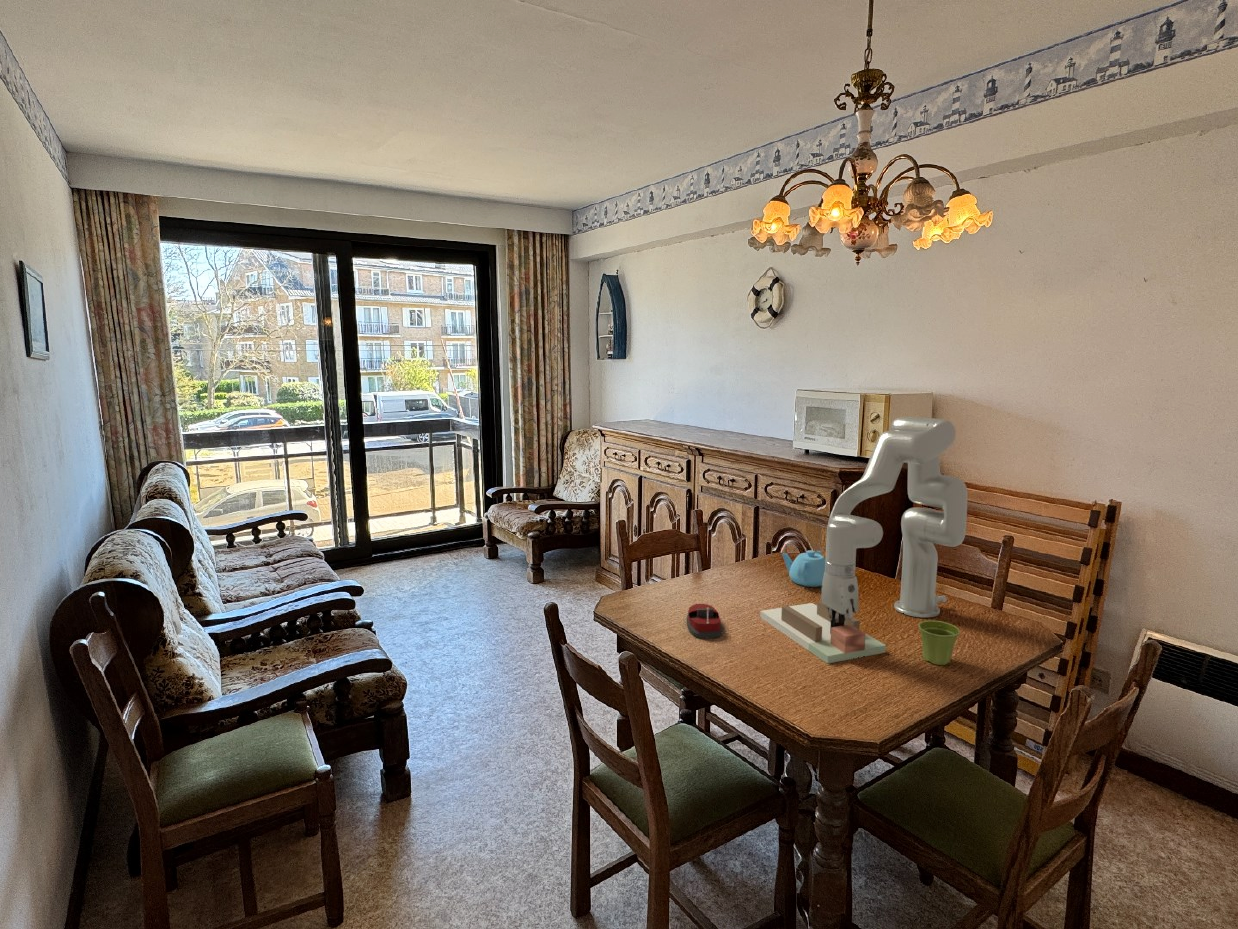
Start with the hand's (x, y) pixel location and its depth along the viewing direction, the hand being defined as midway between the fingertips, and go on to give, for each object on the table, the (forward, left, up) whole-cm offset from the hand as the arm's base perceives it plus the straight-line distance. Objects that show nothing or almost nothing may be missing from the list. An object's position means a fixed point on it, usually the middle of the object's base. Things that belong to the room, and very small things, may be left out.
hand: (836, 634), depth 176 cm
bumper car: (+28, -23, -4) cm, 36 cm away
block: (+1, +5, -1) cm, 5 cm away
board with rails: (0, -8, -3) cm, 8 cm away
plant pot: (-18, +16, -3) cm, 24 cm away
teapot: (-24, -46, -3) cm, 52 cm away
